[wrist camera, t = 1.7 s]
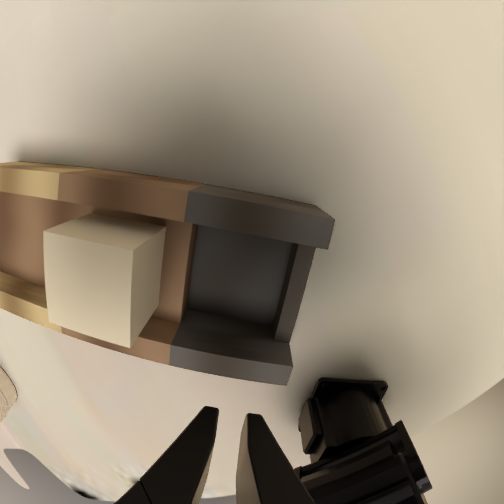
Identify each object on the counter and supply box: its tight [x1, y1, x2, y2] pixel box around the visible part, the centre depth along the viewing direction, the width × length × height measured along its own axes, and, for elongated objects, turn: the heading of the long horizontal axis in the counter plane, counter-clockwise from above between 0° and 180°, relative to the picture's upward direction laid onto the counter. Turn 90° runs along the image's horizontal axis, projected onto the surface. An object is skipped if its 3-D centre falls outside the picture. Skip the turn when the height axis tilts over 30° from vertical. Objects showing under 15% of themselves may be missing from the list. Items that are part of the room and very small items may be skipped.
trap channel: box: [0, 162, 335, 386], centre depth 18 cm, size 23×10×5 cm, turn 79°
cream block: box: [43, 213, 166, 348], centre depth 15 cm, size 5×5×5 cm
